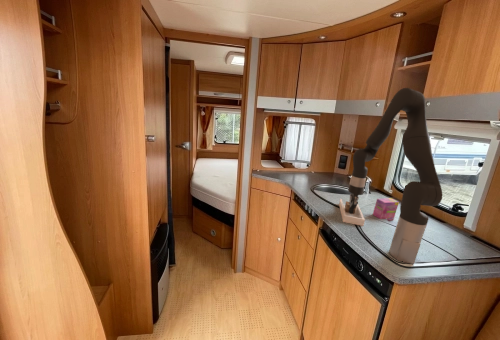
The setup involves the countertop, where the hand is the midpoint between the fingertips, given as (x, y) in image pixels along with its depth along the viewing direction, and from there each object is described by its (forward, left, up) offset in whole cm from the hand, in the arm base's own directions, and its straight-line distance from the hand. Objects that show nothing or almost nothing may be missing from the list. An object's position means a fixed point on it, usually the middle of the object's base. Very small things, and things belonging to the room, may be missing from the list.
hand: (350, 213), depth 126 cm
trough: (+2, 0, -3) cm, 3 cm away
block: (+5, 0, -1) cm, 5 cm away
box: (+8, -19, -3) cm, 21 cm away
